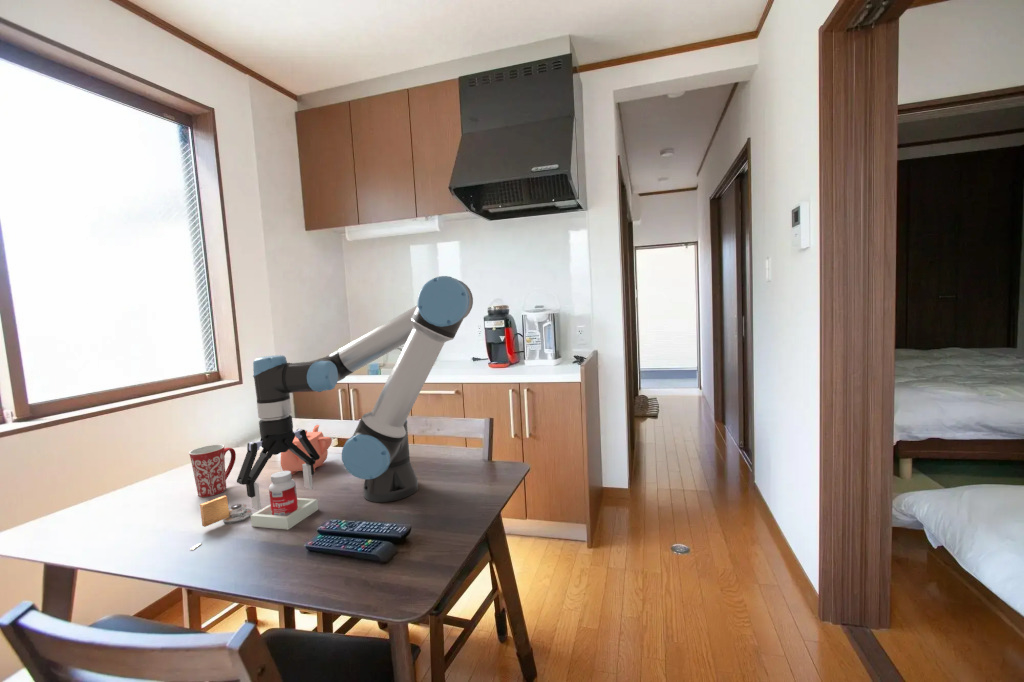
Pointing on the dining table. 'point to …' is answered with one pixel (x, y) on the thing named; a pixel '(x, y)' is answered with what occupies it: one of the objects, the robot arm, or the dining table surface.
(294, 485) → the pill bottle
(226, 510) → the tan and grey pieces
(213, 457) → the mug
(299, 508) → the tray
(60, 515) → the dining table surface
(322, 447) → the pink toy figure
